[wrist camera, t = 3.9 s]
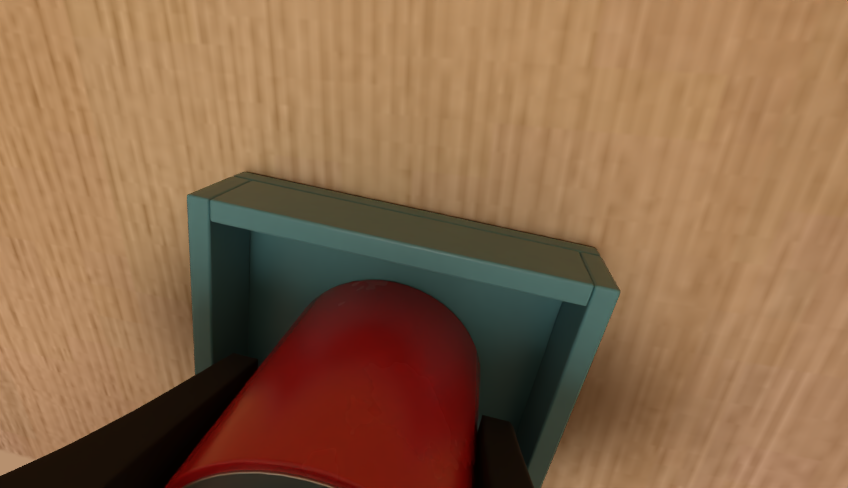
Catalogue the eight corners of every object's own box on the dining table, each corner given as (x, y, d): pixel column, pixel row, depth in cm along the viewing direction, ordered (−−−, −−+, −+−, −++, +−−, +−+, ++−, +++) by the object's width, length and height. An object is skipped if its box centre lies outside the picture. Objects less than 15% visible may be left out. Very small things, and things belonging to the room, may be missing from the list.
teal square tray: (242, 170, 11) (185, 194, 9) (596, 247, 10) (622, 291, 8) (241, 429, 14) (199, 489, 12) (504, 499, 14) (506, 573, 12)
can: (486, 440, 12) (481, 706, 7) (314, 435, 13) (200, 667, 8) (472, 274, 10) (450, 472, 5) (272, 283, 11) (91, 458, 6)
